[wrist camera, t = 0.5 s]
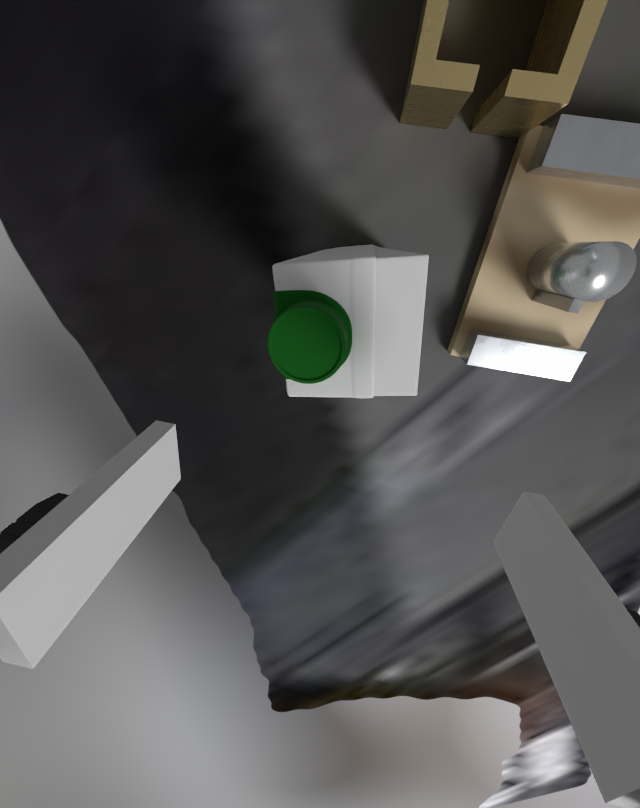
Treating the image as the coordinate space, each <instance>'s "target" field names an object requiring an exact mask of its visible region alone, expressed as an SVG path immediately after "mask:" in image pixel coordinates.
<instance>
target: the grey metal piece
mask: <svg viewBox="0 0 640 808" xmlns="http://www.w3.org/2000/svg"><path fill="white" fill-rule="evenodd" d="M527 173H530V174H537V175H544V176H552V177H559V178H566V179H574V180H581V181H588V182H596V183H603V184H610V185H618V186H625V187H632V188H640V124H638V123H630V122H622V121H614V120H607V119H599V118H591V117H583V116H575V115H567V114H561V115H559V116H558V117H556V118H555V119H553V120H552V121H550V122H549V123H547V124H546V125H544V126H543V129H542V131H541V134H540V137H539V140H538V142H537V145H536V148H535V151H534V153H533V156H532V159H531V162H530V164H529V167H528V170H527ZM636 262H637V261H636V255H635V252H634V250H633V249H632V248H631V247H630V246H629V245H628V244H626V243H623V242H618V241H607V242H568V243H552V244H549V245H546V246H544V247H543V248H541V249H540V250H538V251H537V252H536V253H535V254H534V255H533V257H532V258H531V260H530V261H529V264H528V266H527V270H526V277H527V280H528V282H529V284H530V285H531V286H532V287H533V288H535V289H537V290H536V291H535V293H534V295H533V298H532V300H531V301H535V302H538V303H541V304H544V305H547V306H550V307H554V308H557V309H560V310H563V311H566V312H571V313H577V314H578V313H579V311H580V309H581V307H582V305H583V303H584V301H587V302H598V301H602V300H606V299H608V298H610V297H612V296H614V295H615V294H617V293H618V292H620V291H621V290H622V289H623V288H624V287H625V286H626V285H627V284H628V282H629V281H630V279H631V278H632V276H633V274H634V271H635V268H636ZM585 353H586V352H584V351H582V350H580V349H578V348H576V347H574V346H571V345H568V344H561V343H555V342H549V341H543V340H537V339H531V338H524V337H518V336H512V335H506V334H500V333H494V332H487V331H481V330H475V329H470V330H469V333H468V336H467V338H466V341H465V344H464V347H463V350H462V352H461V355H460V357H461V358H462V359H463V360H464V362H465V363H466V364H468V365H474V366H480V367H486V368H492V369H498V370H503V371H509V372H515V373H521V374H527V375H533V376H539V377H545V378H551V379H557V380H563V381H569V382H570V380H571V379H572V377H573V375H574V373H575V371H576V370H577V368H578V366H579V364H580V362H581V361H582V359H583V357H584V355H585Z"/></svg>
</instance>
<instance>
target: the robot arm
mask: <svg viewBox="0 0 640 808" xmlns="http://www.w3.org/2000/svg"><path fill="white" fill-rule="evenodd" d="M180 479H181V476H180V466H179V456H178V446H177V435H176V425H175V424H171V423H166V422H161V421H155V422H154V423H153V424H152V425H150V426H149V427H148V428H147V429H146V430H145V431H143V432H142V433H141V434H140V435H139V436H138V437H136V438H135V439H134V440H133V441H132V442H131V443H129V444H128V445H127V446H126V447H125V448H124V449H122V450H121V451H120V452H119V453H118V454H117V455H115V456H114V457H113V458H112V459H111V460H110V461H108V462H107V463H106V464H105V465H104V466H103V467H101V468H100V469H99V470H98V471H97V472H96V473H95V474H93V475H92V476H91V477H90V478H89V479H87V480H86V481H85V482H84V483H83V484H81V485H80V486H79V487H78V488H77V489H76V490H75V491H74V492H72V493H71V494H70V495H66V494H61V493H57V494H55V495H53V496H51V497H50V498H47V499H45V500H43V501H41V502H39V503H37V504H36V505H34V506H33V507H32V508H31V509H29V510H28V511H27V512H26V513H24V514H23V515H22V516H21V517H19V518H18V519H17V521H16V522H15V523H12V524H11V525H9V526H8V527H7V528H5V529H4V530H3V531H2V532H1V534H0V659H1V660H2V662H6V663H10V664H14V665H19V666H23V667H27V668H31V669H33V668H34V667H35V666H36V665H37V663H38V662H39V661H40V660H41V658H42V657H43V655H44V654H45V653H46V652H47V650H48V649H49V648H50V647H51V645H52V644H53V643H54V641H55V640H56V639H57V637H58V636H59V635H60V634H61V632H62V631H63V630H64V629H65V627H66V626H67V625H68V623H69V622H70V621H71V620H72V618H73V617H74V616H75V614H76V613H77V612H78V611H79V609H80V608H81V607H82V605H83V604H84V603H85V602H86V600H87V599H88V598H89V596H90V595H91V594H92V593H93V591H94V590H95V589H96V587H97V586H98V585H99V584H100V582H101V581H102V580H103V578H104V577H105V576H106V574H107V573H108V572H109V571H110V569H111V568H112V567H113V565H114V564H115V563H116V562H117V560H118V559H119V558H120V556H121V555H122V554H123V553H124V551H125V550H126V549H127V547H128V546H129V545H130V543H131V542H132V541H133V540H134V538H135V537H136V536H137V535H138V533H139V532H140V531H141V529H142V528H143V527H144V526H145V524H146V523H147V522H148V520H149V519H150V518H151V517H152V515H153V514H154V512H155V511H156V510H157V509H158V508H159V506H160V505H161V504H162V502H163V501H164V500H165V498H166V497H167V496H168V495H169V493H170V492H171V491H172V489H173V488H174V487H175V486H176V484H177V483H178V482H179V480H180ZM493 543H494V546H495V548H496V550H497V553H498V555H499V557H500V560H501V562H502V564H503V567H504V569H505V571H506V573H507V576H508V578H509V580H510V583H511V585H512V587H513V590H514V592H515V594H516V597H517V599H518V601H519V604H520V606H521V608H522V611H523V613H524V615H525V618H526V620H527V622H528V625H529V627H530V629H531V632H532V634H533V636H534V638H535V641H536V643H537V645H538V648H539V650H540V652H541V655H542V657H543V659H544V662H545V664H546V666H547V669H548V671H549V673H550V676H551V678H552V680H553V683H554V685H555V687H556V690H557V692H558V694H559V696H560V699H561V701H562V703H563V706H564V708H565V710H566V713H567V715H568V717H569V720H570V722H571V724H572V727H573V729H574V731H575V734H576V736H577V738H578V741H579V743H580V745H581V748H582V750H583V752H584V755H585V757H586V759H587V761H588V764H589V766H590V768H591V771H592V773H593V775H594V778H595V780H596V782H597V784H598V787H599V789H600V792H601V794H602V796H603V798H604V801H605V803H607V804H611V805H615V806H619V807H624V808H640V615H639V614H638V613H637V612H636V611H633V610H628V609H626V608H625V607H624V605H623V604H622V602H621V601H620V600H619V598H618V597H617V595H616V594H615V593H614V591H613V590H612V588H611V587H610V586H609V584H608V583H607V581H606V580H605V579H604V577H603V576H602V575H601V573H600V572H599V570H598V569H597V568H596V566H595V565H594V563H593V562H592V561H591V559H590V558H589V556H588V555H587V554H586V552H585V551H584V549H583V548H582V547H581V545H580V544H579V542H578V541H577V540H576V538H575V537H574V535H573V534H572V533H571V531H570V530H569V528H568V527H567V526H566V524H565V523H564V521H563V520H562V519H561V517H560V516H559V514H558V513H557V512H556V510H555V509H554V507H553V506H552V505H551V503H550V502H549V500H548V499H547V498H546V496H545V495H540V494H535V493H530V492H524V491H523V493H522V495H521V496H520V498H519V499H518V501H517V503H516V504H515V506H514V508H513V509H512V511H511V512H510V514H509V516H508V517H507V519H506V521H505V522H504V524H503V525H502V527H501V529H500V530H499V532H498V534H497V535H496V537H495V538H494V540H493Z"/></svg>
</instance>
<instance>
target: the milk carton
mask: <svg viewBox="0 0 640 808" xmlns="http://www.w3.org/2000/svg"><path fill="white" fill-rule="evenodd" d="M428 259H429V255H425V254H417V253H411V252H405V251H399V250H393V249H387V248H382V247H378V246H374V245H359V246H348V247H338V248H331V249H325V250H321V251H318V252H314V253H311V254H308V255H304V256H300V257H297V258H293V259H290V260H286V261H283V262H280V263H276V264H274V265H273V266H272V269H273V277H274V284H275V292H273V294H274V302H275V309H276V312H275V318H274V323H273V324H272V326H271V328H270V331H269V334H268V342H267V343H268V352H269V355H270V358H271V360H272V362H273V364H274V365H275V367H276V368H277V369H278V370H279V371H280V372H281V373H282V374H283V376H284V378H285V379H286V386H287V394H288V396H289V397H354V398H373V396H416V395H417V387H418V376H419V364H420V352H421V341H422V329H423V317H424V306H425V294H426V282H427V271H428Z"/></svg>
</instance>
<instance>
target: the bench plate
mask: <svg viewBox="0 0 640 808" xmlns="http://www.w3.org/2000/svg"><path fill="white" fill-rule="evenodd" d="M542 129H543V126H539V125H538V126H536V127H535V128H533V129H532V130H530V131H529V132H528V133H526V134H525V135H523V136H522V137H521V138H519V140H518V143H517V146H516V149H515V152H514V155H513V158H512V161H511V164H510V167H509V170H508V173H507V176H506V179H505V182H504V184H503V187H502V190H501V193H500V196H499V199H498V202H497V205H496V208H495V211H494V214H493V217H492V220H491V223H490V226H489V229H488V232H487V235H486V238H485V241H484V244H483V246H482V249H481V252H480V255H479V258H478V261H477V264H476V267H475V270H474V273H473V276H472V279H471V282H470V285H469V288H468V291H467V294H466V297H465V300H464V303H463V306H462V308H461V311H460V314H459V317H458V320H457V323H456V326H455V329H454V332H453V335H452V338H451V341H450V344H449V347H448V350H447V351H448V352H449V354H450V355H454V356H460V355H461V352H462V350H463V347H464V344H465V341H466V338H467V336H468V333H469V330H470V329H475V330H481V331H487V332H494V333H500V334H506V335H512V336H518V337H524V338H531V339H537V340H543V341H549V342H555V343H561V344H568V345H571V346H574V347H576V348H578V349H579V348H580V346H581V345H582V343H583V341H584V339H585V337H586V335H587V334H588V332H589V330H590V328H591V326H592V324H593V323H594V321H595V319H596V317H597V315H598V313H599V311H600V310H601V308H602V306H603V304H604V302H605V300H602V301H598V302H587V301H584V303H583V305H582V307H581V309H580V311H579V313H578V314H577V313H571V312H566V311H563V310H560V309H557V308H554V307H550V306H547V305H544V304H541V303H538V302H535V301H531V300H532V298H533V295H534V293H535V291H536V290H537V289H535V288H533V287H532V286H531V285H530V284H529V282H528V280H527V277H526V270H527V266H528V264H529V261H530V260H531V258H532V257H533V255H534V254H535V253H536V252H537V251H538V250H540V249H541V248H543V247H544V246H546V245H549V244H552V243H568V242H607V241H618V242H623V243H626V244H628V245H629V246H630V247H631V248H632V249H634V247H635V245H636V243H637V242H638V240H639V238H640V188H632V187H625V186H618V185H610V184H603V183H596V182H588V181H581V180H574V179H566V178H559V177H552V176H544V175H537V174H530V173H527V170H528V167H529V164H530V162H531V159H532V156H533V153H534V151H535V148H536V145H537V142H538V140H539V137H540V134H541V131H542Z"/></svg>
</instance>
